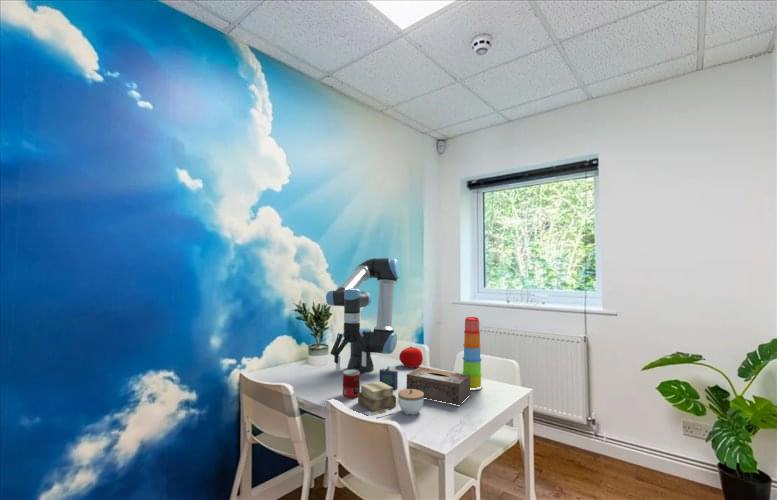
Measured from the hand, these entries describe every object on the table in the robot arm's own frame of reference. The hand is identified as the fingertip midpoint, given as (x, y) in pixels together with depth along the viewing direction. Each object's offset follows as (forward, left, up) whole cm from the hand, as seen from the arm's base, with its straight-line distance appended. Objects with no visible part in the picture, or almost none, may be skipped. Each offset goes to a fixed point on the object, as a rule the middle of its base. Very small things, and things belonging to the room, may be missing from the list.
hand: (351, 368), depth 172 cm
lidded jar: (-12, +30, -13) cm, 35 cm away
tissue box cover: (-34, +22, -13) cm, 43 cm away
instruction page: (0, +24, -13) cm, 27 cm away
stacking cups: (-56, +22, -13) cm, 62 cm away
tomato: (-53, -23, -13) cm, 59 cm away
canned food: (0, 0, -13) cm, 13 cm away
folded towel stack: (-4, +16, -13) cm, 21 cm away
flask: (-20, +1, -13) cm, 24 cm away
